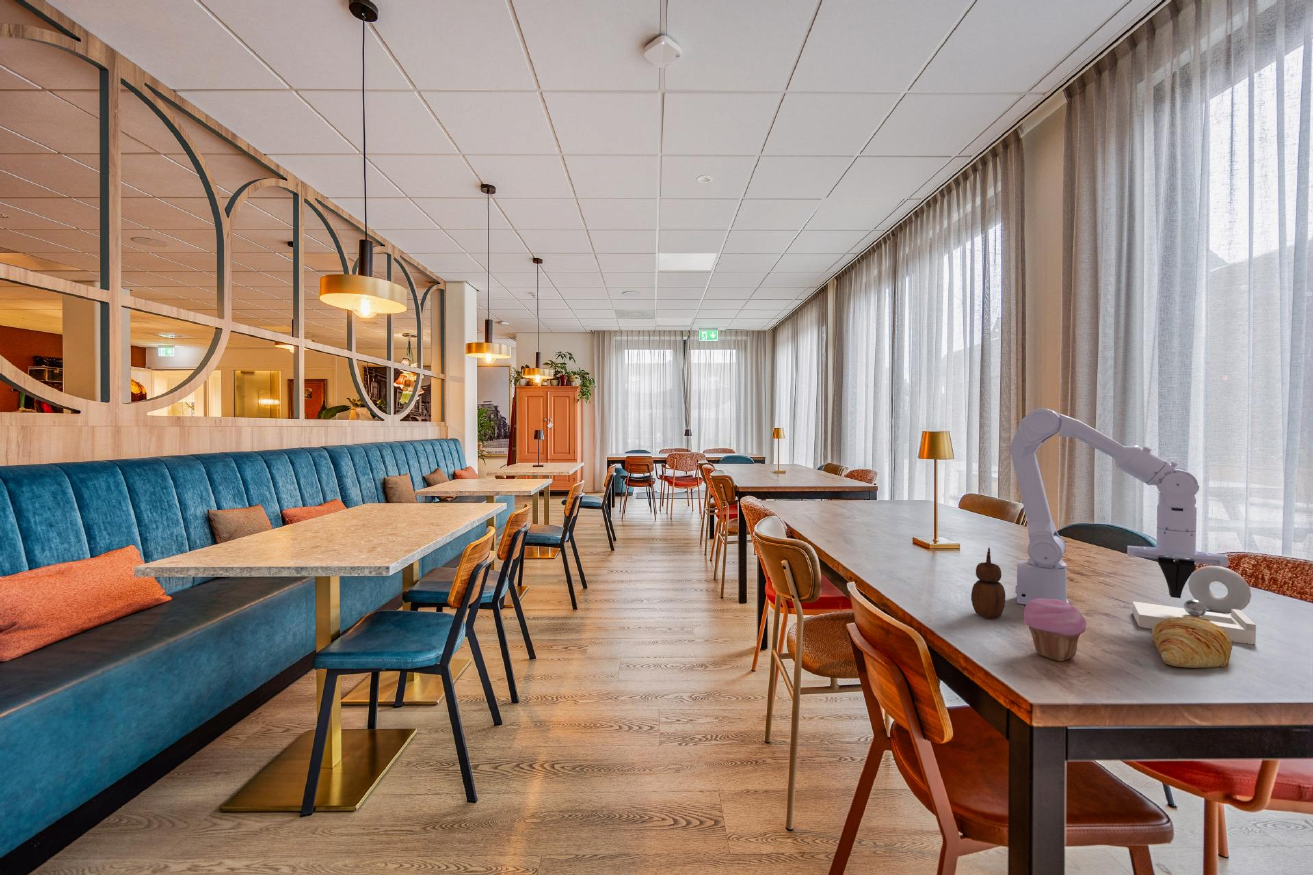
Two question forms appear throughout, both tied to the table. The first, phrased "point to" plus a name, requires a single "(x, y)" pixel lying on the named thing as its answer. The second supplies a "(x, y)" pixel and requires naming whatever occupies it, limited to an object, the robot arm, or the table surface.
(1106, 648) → the table surface
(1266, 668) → the table surface
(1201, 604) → the ball
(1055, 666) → the table surface
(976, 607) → the wooden figurine
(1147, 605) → the board
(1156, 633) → the croissant
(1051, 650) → the cupcake
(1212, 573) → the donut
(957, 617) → the table surface
